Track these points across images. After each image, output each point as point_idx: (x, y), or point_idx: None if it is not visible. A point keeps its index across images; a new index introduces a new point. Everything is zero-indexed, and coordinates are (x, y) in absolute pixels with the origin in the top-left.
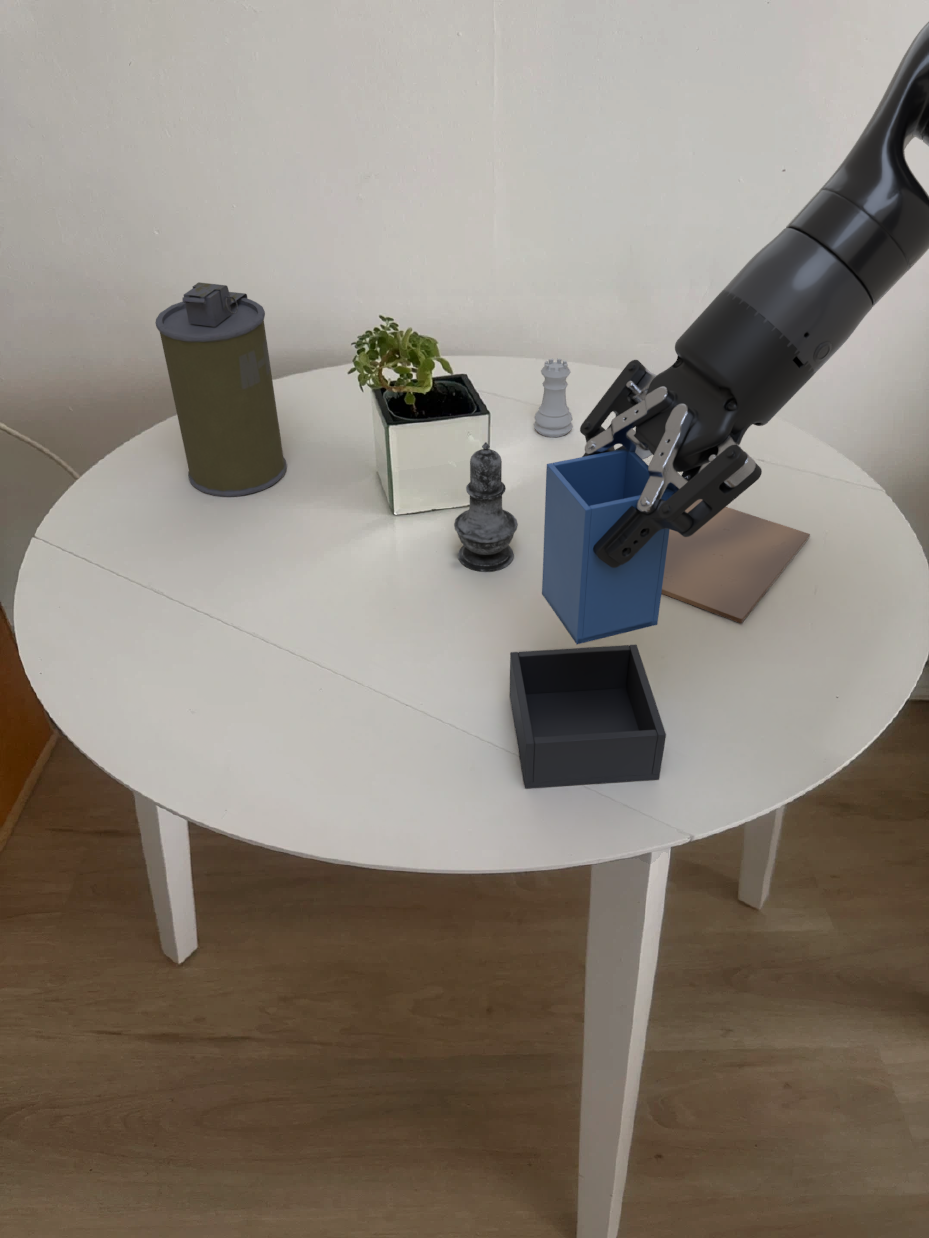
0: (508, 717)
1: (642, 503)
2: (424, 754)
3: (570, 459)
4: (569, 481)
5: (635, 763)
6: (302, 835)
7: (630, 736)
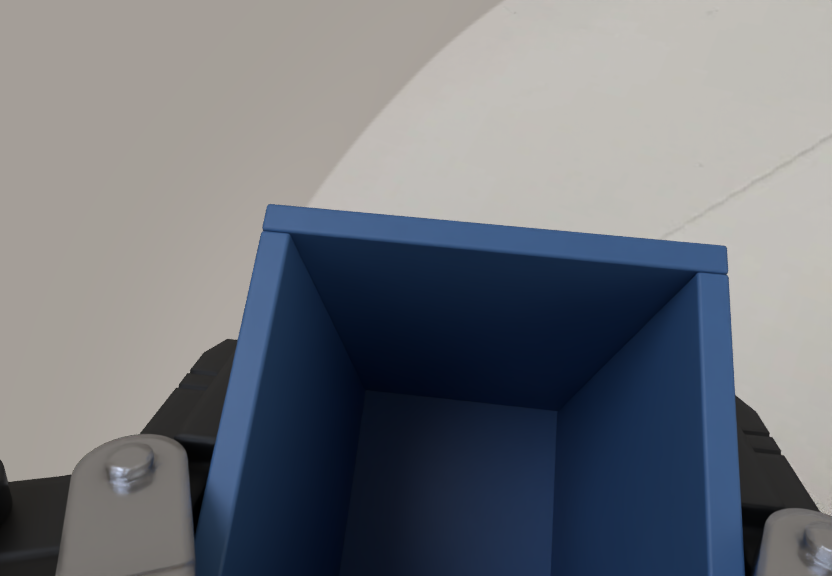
0: None
1: (128, 445)
2: None
3: (729, 371)
4: (661, 382)
5: None
6: (436, 73)
7: None
